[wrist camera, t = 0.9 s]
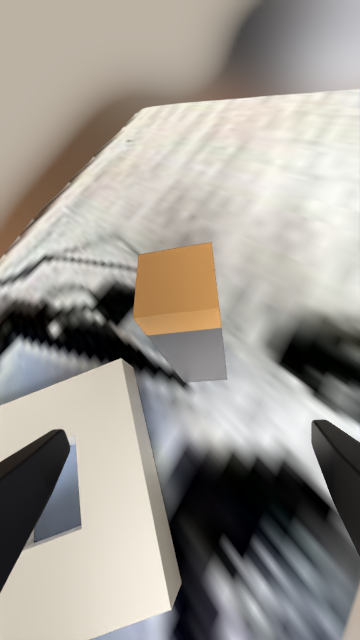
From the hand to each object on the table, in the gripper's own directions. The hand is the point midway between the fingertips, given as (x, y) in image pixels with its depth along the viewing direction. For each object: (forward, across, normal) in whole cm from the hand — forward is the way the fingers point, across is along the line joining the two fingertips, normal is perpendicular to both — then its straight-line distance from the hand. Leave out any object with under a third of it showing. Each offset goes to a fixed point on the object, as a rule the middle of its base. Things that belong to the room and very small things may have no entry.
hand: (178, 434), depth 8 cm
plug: (+14, 0, +4) cm, 15 cm away
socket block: (+7, +13, +11) cm, 18 cm away
